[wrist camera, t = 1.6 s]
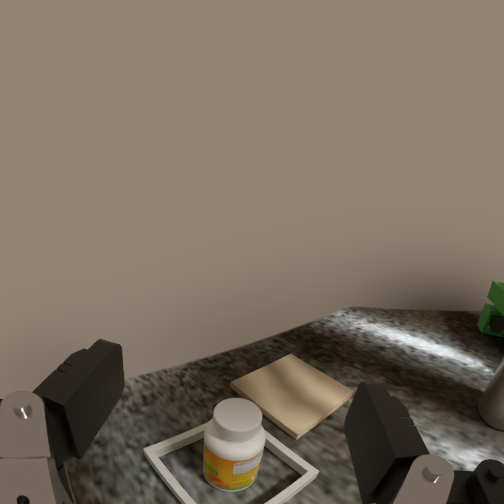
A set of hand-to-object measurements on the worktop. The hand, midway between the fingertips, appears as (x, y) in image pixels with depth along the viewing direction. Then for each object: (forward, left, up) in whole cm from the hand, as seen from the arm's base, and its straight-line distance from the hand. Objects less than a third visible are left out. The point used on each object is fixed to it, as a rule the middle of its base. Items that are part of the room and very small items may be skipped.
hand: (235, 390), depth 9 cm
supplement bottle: (-8, -7, -22) cm, 24 cm away
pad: (-23, -12, -22) cm, 33 cm away
